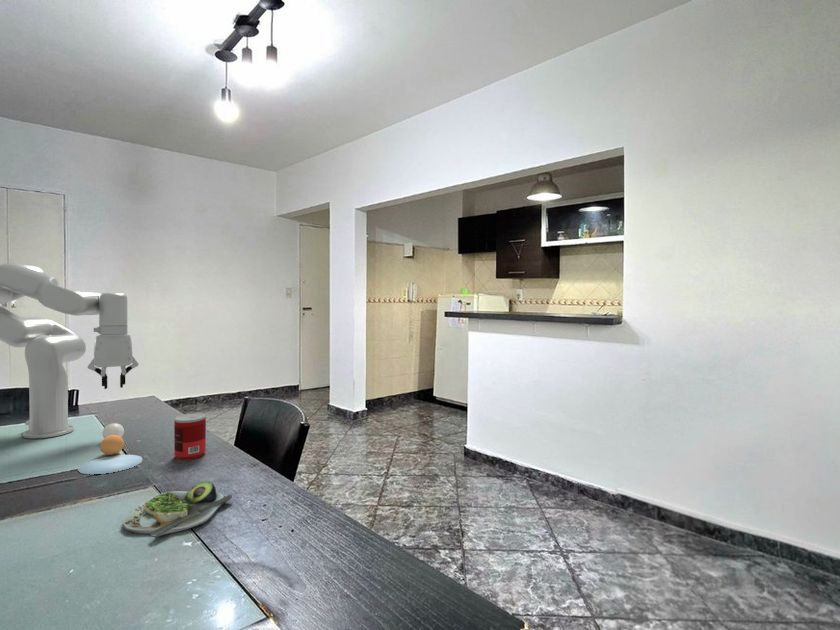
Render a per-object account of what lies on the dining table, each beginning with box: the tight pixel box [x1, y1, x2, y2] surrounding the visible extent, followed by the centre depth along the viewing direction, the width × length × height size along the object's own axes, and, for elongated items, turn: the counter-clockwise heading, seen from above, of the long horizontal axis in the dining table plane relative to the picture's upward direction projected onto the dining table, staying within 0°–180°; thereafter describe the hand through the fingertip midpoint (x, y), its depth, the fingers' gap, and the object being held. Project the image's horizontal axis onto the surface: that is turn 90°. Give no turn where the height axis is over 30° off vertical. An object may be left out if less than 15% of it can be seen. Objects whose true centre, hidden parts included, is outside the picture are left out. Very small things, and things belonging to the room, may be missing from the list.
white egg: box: [101, 422, 125, 439], centre depth 136 cm, size 6×6×6 cm
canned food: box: [173, 412, 207, 461], centre depth 125 cm, size 8×8×11 cm
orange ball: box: [99, 435, 125, 456], centre depth 125 cm, size 6×6×6 cm
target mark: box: [77, 454, 143, 476], centre depth 117 cm, size 14×14×1 cm
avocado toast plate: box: [121, 481, 233, 538], centre depth 90 cm, size 19×18×5 cm
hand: (113, 387), depth 143 cm, fingers open, 3 cm apart
